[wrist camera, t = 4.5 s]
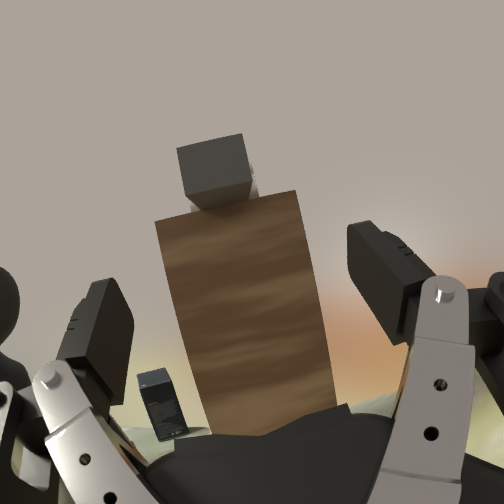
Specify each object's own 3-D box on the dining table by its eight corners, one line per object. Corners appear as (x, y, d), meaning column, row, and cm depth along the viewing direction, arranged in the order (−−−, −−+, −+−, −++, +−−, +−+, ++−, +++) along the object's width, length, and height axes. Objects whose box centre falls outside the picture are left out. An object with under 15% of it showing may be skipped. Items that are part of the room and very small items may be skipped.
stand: (347, 486, 28) (282, 137, 27) (242, 511, 27) (145, 168, 26) (322, 433, 40) (268, 170, 39) (240, 452, 40) (172, 191, 39)
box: (190, 433, 47) (171, 379, 47) (158, 442, 45) (137, 388, 45) (181, 415, 55) (165, 366, 54) (153, 423, 52) (135, 373, 52)
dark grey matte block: (253, 180, 19) (241, 133, 19) (185, 195, 18) (176, 148, 18) (245, 212, 38) (239, 187, 38) (211, 220, 37) (206, 195, 37)
